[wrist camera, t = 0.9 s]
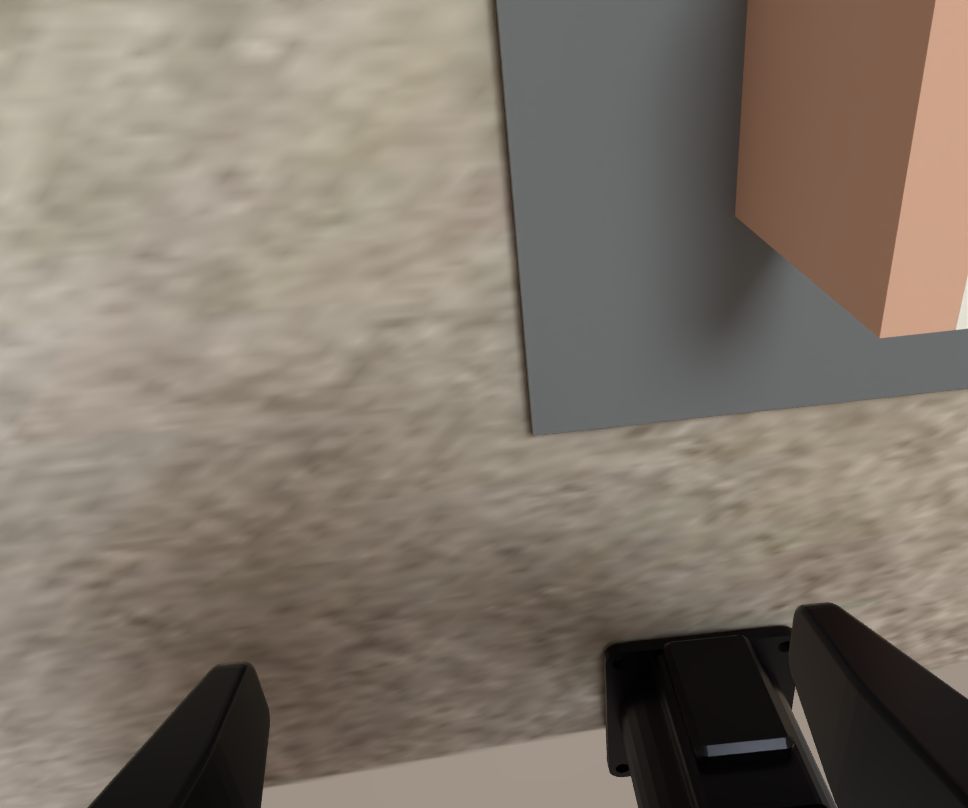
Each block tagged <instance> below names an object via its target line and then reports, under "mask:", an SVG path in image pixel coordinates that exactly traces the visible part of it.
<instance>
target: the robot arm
mask: <svg viewBox="0 0 968 808" xmlns="http://www.w3.org/2000/svg"><path fill="white" fill-rule="evenodd" d="M784 641H785V642H784ZM619 658H622V659H619ZM616 659H619V660H616ZM603 663H604V690H605V717H606V744H607V762H608V767H609V771H610V773H611V774H612V775H614V776H617V777H628V776H631V778H632V782H633V787H634V791H635V795H636V800H637V804H638V808H837V807H838V808H968V699H967V698H966V697H964V696H963V695H962V694H960V693H959V692H957V691H956V690H955V689H953V688H952V687H950V686H949V685H948V684H946V683H945V682H944V681H942V680H941V679H939V678H938V677H937V676H935V675H934V674H932V673H931V672H930V671H928V670H927V669H925V668H924V667H923V666H921V665H920V664H919V663H917V662H916V661H914V660H913V659H912V658H910V657H909V656H907V655H906V654H905V653H903V652H902V651H900V650H899V649H898V648H896V647H895V646H894V645H892V644H891V643H889V642H888V641H887V640H885V639H884V638H882V637H881V636H880V635H878V634H877V633H875V632H874V631H873V630H871V629H870V628H869V627H867V626H866V625H864V624H863V623H862V622H860V621H859V620H857V619H856V618H855V617H853V616H852V615H850V614H849V613H848V612H846V611H845V610H844V609H842V608H841V607H839V606H838V605H836V604H833V603H829V602H826V603H816V604H806V605H801V606H799V607H797V609H796V610H795V613H794V618H793V626H792V628H790V627H774V628H764V629H755V630H745V631H736V632H726V633H717V634H707V635H698V636H688V637H679V638H669V639H659V640H650V641H640V642H631V643H621V644H615V645H612V646H610V647H608V648H607V649H606V650H605V652H604V655H603ZM795 687H796V690H797V692H798V695H799V698H800V701H801V704H802V707H803V710H804V713H805V716H806V719H807V722H808V725H809V728H810V730H811V734H812V737H813V740H814V743H815V745H816V748H817V751H818V754H819V757H820V760H821V763H822V766H823V769H824V772H825V775H826V778H827V781H828V783H829V786H830V789H831V792H832V794H833V797H834V800H835V803H836V805H837V807H836V805H835V803H834V801H833V798H832V796H831V794H830V792H829V790H828V787H827V785H826V783H825V781H824V779H823V777H822V775H821V772H820V770H819V768H818V766H817V764H816V762H815V760H814V757H813V756H812V753H811V751H810V749H809V747H808V745H807V742H806V740H805V738H804V736H803V734H802V732H801V730H800V727H799V725H798V723H797V721H796V719H795V717H794V714H793V712H792V704H793V697H794V691H795ZM269 728H270V715H269V708H268V705H267V702H266V699H265V696H264V693H263V690H262V688H261V685H260V682H259V679H258V676H257V673H256V670H255V668H254V666H253V665H252V664H251V663H250V662H246V661H244V662H234V663H224V664H219V665H216V666H215V667H213V668H212V669H211V670H210V671H209V672H208V673H207V674H206V675H205V677H204V678H203V679H202V680H201V681H200V682H199V683H198V684H197V686H196V687H195V688H194V689H193V690H192V691H191V692H190V693H189V695H188V696H187V697H186V698H185V699H184V700H183V701H182V702H181V703H180V705H179V706H178V707H177V708H176V709H175V710H174V711H173V712H172V714H171V715H170V716H169V717H168V718H167V719H166V720H165V721H164V723H163V724H162V725H161V726H160V727H159V728H158V729H157V730H156V731H155V733H154V734H153V735H152V736H151V737H150V738H149V739H148V740H147V742H146V743H145V744H144V745H143V746H142V747H141V748H140V749H139V751H138V752H137V753H136V754H135V755H134V756H133V757H132V758H131V759H130V761H129V762H128V763H127V764H126V765H125V766H124V767H123V768H122V770H121V771H120V772H119V773H118V774H117V775H116V776H115V777H114V778H113V780H112V781H111V782H110V783H109V784H108V785H107V786H106V787H105V789H104V790H103V791H102V792H101V793H100V794H99V795H98V796H97V798H96V799H95V800H94V801H93V802H92V803H91V804H90V805H89V806H88V808H261V801H262V792H263V783H264V774H265V765H266V756H267V747H268V738H269Z"/></svg>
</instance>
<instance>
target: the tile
mask: <svg viewBox="0 0 968 808" xmlns="http://www.w3.org/2000/svg"><path fill="white" fill-rule="evenodd" d="M735 217H737V218H738V219H739V220H740V221H741V222H742V223H744V224H745V225H746V226H747V227H748V228H750V229H751V230H752V231H753V232H754V233H755V234H757V235H758V236H759V237H760V238H761V239H763V240H764V241H765V242H766V243H767V244H768V245H770V246H771V247H772V248H773V249H774V250H776V251H777V252H778V253H779V254H780V255H781V256H783V257H784V258H785V259H786V260H787V261H789V262H790V263H791V264H792V265H793V266H794V267H796V268H797V269H798V270H799V271H800V272H802V273H803V274H804V275H805V276H806V277H808V278H809V279H810V280H811V281H812V282H813V283H815V284H816V285H817V286H818V287H819V288H821V289H822V290H823V291H824V292H825V293H826V294H828V295H829V296H830V297H831V298H832V299H834V300H835V301H836V302H837V303H838V304H839V305H841V306H842V307H843V308H844V309H845V310H847V311H848V312H849V313H850V314H851V315H852V316H854V317H855V318H856V319H857V320H858V321H860V322H861V323H862V324H863V325H864V326H866V327H867V328H868V329H869V330H870V331H871V332H873V333H874V334H875V335H876V336H877V337H879V338H887V337H896V336H905V335H914V334H923V333H932V332H942V331H951V330H960V329H968V0H748V4H747V20H746V37H745V54H744V71H743V88H742V105H741V122H740V139H739V156H738V173H737V190H736V206H735Z"/></svg>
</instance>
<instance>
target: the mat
mask: <svg viewBox="0 0 968 808" xmlns="http://www.w3.org/2000/svg"><path fill="white" fill-rule="evenodd" d="M495 1H496V13H497V25H498V36H499V48H500V60H501V72H502V84H503V96H504V108H505V119H506V131H507V143H508V155H509V167H510V179H511V191H512V202H513V214H514V226H515V238H516V250H517V262H518V273H519V285H520V297H521V309H522V321H523V333H524V345H525V356H526V368H527V380H528V392H529V404H530V416H531V426H532V431H533V436H536V435H545V434H554V433H563V432H573V431H582V430H591V429H600V428H609V427H618V426H628V425H637V424H646V423H655V422H664V421H673V420H683V419H692V418H701V417H710V416H719V415H729V414H738V413H747V412H756V411H765V410H774V409H784V408H793V407H802V406H811V405H820V404H829V403H839V402H848V401H857V400H866V399H875V398H885V397H894V396H903V395H912V394H921V393H930V392H940V391H949V390H958V389H967V388H968V329H960V330H951V331H942V332H932V333H923V334H914V335H905V336H896V337H887V338H879V337H877V336H876V335H875V334H874V333H873V332H871V331H870V330H869V329H868V328H867V327H866V326H864V325H863V324H862V323H861V322H860V321H858V320H857V319H856V318H855V317H854V316H852V315H851V314H850V313H849V312H848V311H847V310H845V309H844V308H843V307H842V306H841V305H839V304H838V303H837V302H836V301H835V300H834V299H832V298H831V297H830V296H829V295H828V294H826V293H825V292H824V291H823V290H822V289H821V288H819V287H818V286H817V285H816V284H815V283H813V282H812V281H811V280H810V279H809V278H808V277H806V276H805V275H804V274H803V273H802V272H800V271H799V270H798V269H797V268H796V267H794V266H793V265H792V264H791V263H790V262H789V261H787V260H786V259H785V258H784V257H783V256H781V255H780V254H779V253H778V252H777V251H776V250H774V249H773V248H772V247H771V246H770V245H768V244H767V243H766V242H765V241H764V240H763V239H761V238H760V237H759V236H758V235H757V234H755V233H754V232H753V231H752V230H751V229H750V228H748V227H747V226H746V225H745V224H744V223H742V222H741V221H740V220H739V219H738V218H737V217H735V206H736V190H737V173H738V156H739V139H740V122H741V105H742V88H743V71H744V54H745V37H746V20H747V4H748V0H495Z"/></svg>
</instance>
